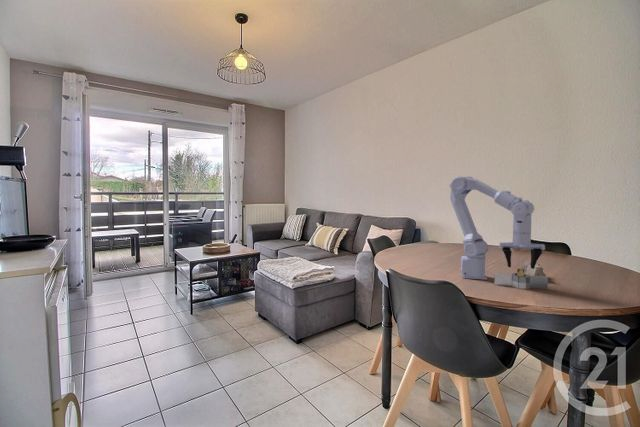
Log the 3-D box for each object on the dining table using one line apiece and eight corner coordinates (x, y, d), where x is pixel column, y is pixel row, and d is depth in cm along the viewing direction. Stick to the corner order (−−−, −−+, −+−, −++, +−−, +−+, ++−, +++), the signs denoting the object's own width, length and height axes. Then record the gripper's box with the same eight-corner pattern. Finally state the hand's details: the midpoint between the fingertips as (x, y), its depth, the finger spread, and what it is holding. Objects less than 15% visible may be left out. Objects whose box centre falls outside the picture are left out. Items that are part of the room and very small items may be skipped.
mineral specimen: (553, 282, 121) (553, 267, 121) (534, 281, 122) (534, 266, 121) (534, 273, 134) (534, 259, 133) (517, 273, 134) (517, 259, 134)
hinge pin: (517, 287, 116) (518, 269, 115) (515, 285, 118) (516, 267, 117) (524, 287, 115) (525, 269, 114) (522, 285, 117) (523, 268, 117)
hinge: (495, 286, 117) (496, 275, 116) (493, 282, 122) (493, 271, 122) (549, 291, 111) (550, 279, 110) (544, 286, 116) (545, 274, 116)
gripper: (502, 233, 114) (501, 268, 115) (548, 234, 108) (546, 271, 109) (498, 230, 120) (497, 264, 121) (541, 231, 115) (540, 266, 116)
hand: (520, 267), depth 116 cm, fingers open, 7 cm apart
